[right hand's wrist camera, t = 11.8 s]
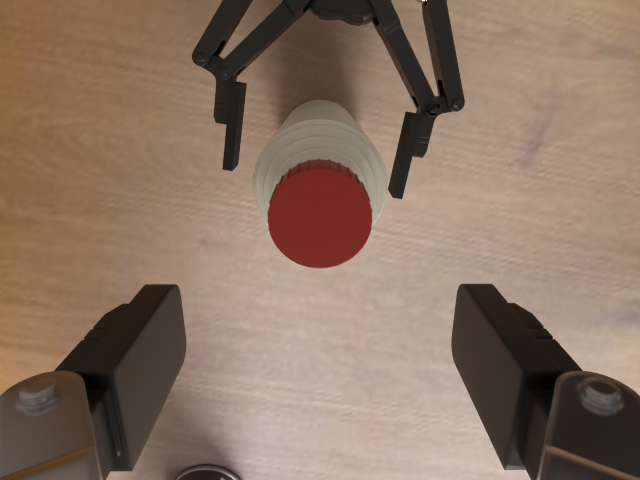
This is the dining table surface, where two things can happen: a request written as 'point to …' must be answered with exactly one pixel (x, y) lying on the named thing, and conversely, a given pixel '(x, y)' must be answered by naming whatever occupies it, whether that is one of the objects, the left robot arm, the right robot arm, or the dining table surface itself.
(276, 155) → the bottle
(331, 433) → the dining table surface
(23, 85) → the dining table surface
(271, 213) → the cap
